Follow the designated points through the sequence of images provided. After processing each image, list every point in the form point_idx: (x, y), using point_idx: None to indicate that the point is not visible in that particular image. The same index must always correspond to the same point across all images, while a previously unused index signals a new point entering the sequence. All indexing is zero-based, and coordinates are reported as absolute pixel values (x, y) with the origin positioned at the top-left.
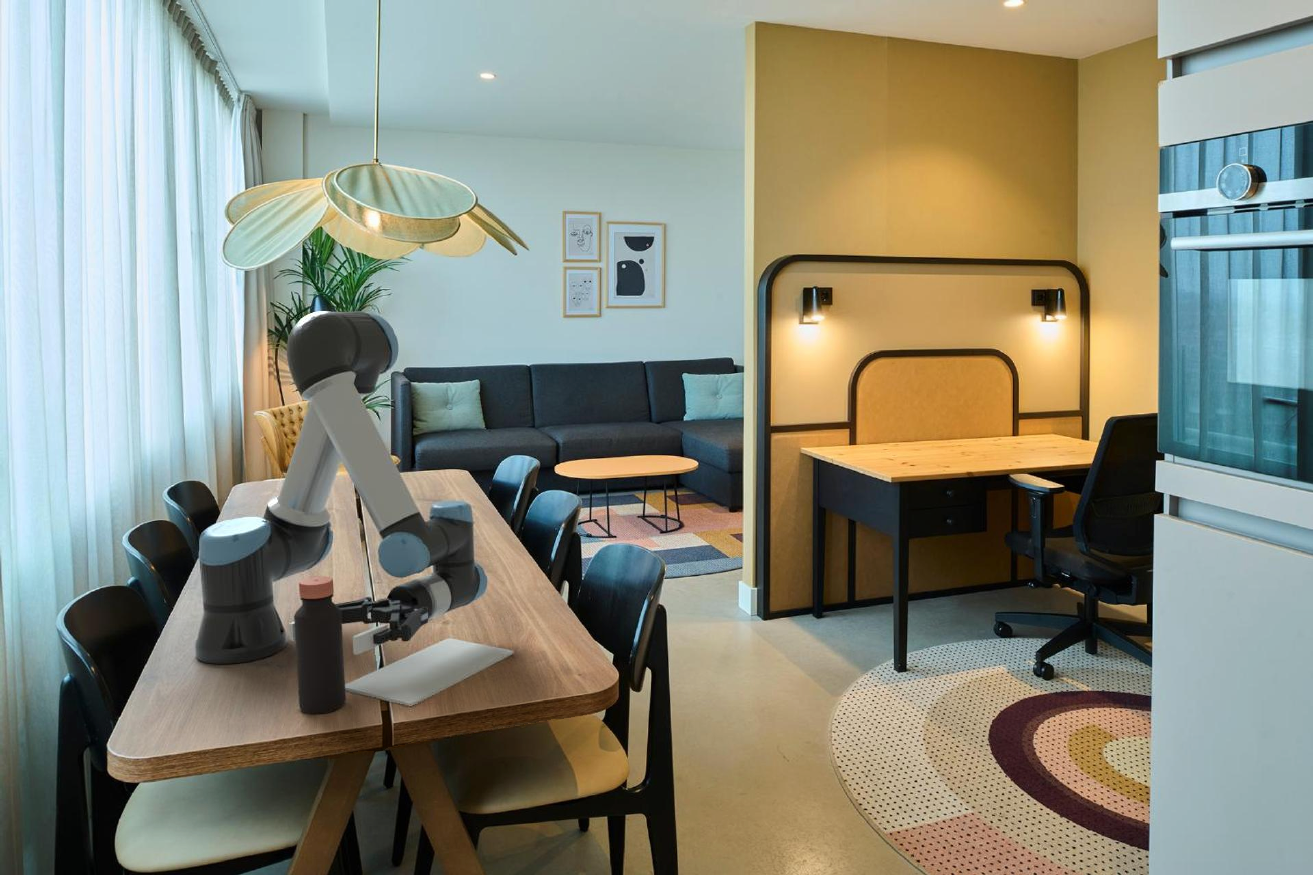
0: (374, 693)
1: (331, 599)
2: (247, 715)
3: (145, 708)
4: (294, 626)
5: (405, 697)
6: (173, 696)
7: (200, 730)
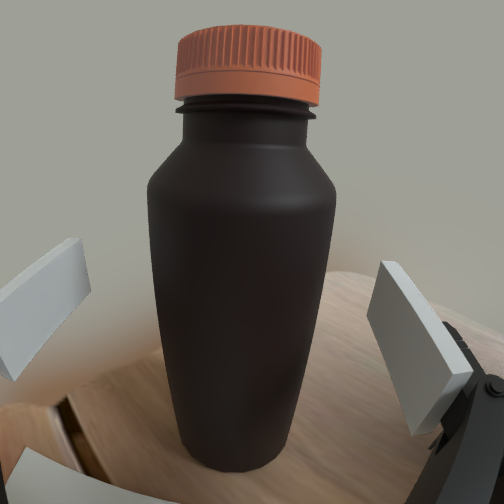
0: (135, 497)
1: (187, 126)
2: (335, 357)
3: (459, 320)
4: (381, 276)
5: (46, 479)
6: (481, 347)
7: (341, 313)
